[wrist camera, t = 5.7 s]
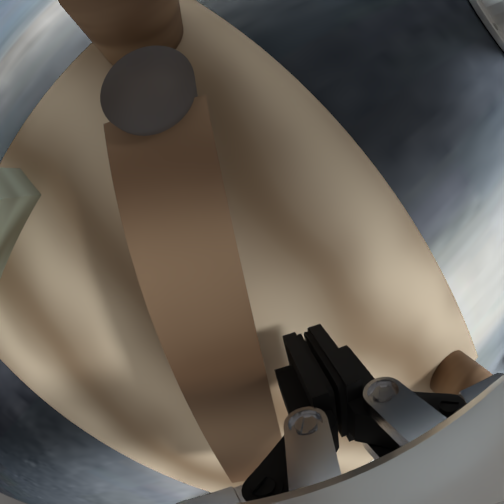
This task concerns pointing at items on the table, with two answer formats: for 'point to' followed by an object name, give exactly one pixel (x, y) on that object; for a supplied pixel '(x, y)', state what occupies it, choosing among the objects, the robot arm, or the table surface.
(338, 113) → the table surface
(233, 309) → the hinged leg
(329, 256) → the stool seat
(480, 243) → the table surface
